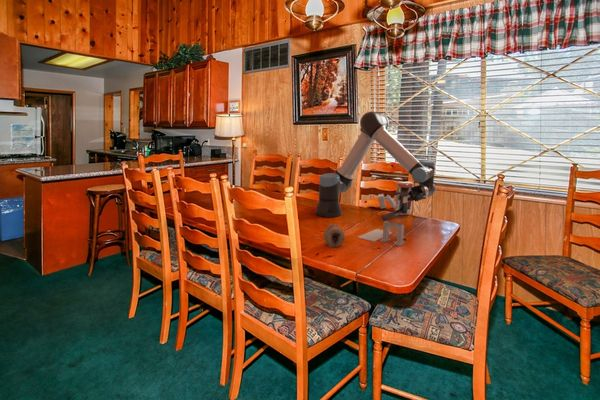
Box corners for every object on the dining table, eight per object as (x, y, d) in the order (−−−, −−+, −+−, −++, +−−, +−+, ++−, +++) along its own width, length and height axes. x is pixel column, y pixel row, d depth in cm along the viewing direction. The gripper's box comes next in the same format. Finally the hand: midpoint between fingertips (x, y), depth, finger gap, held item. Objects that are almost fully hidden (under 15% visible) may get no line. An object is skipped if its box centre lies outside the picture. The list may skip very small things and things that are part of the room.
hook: (376, 219, 173) (378, 188, 170) (399, 210, 191) (401, 182, 188) (390, 222, 169) (393, 190, 166) (412, 212, 186) (415, 184, 183)
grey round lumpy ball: (324, 249, 169) (317, 228, 169) (338, 243, 173) (332, 222, 173) (336, 249, 161) (329, 227, 160) (351, 242, 165) (344, 221, 165)
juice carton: (394, 212, 230) (396, 181, 226) (407, 211, 231) (410, 181, 227) (398, 215, 222) (400, 183, 218) (412, 214, 223) (415, 183, 219)
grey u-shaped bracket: (380, 241, 173) (381, 222, 172) (385, 239, 177) (386, 220, 175) (399, 245, 167) (400, 226, 166) (404, 243, 171) (405, 224, 169)
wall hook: (397, 209, 235) (394, 193, 233) (381, 212, 237) (377, 196, 236) (397, 206, 242) (394, 191, 241) (380, 209, 245) (377, 194, 243)
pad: (357, 237, 178) (357, 237, 178) (376, 229, 192) (376, 229, 192) (374, 241, 173) (374, 241, 173) (392, 233, 186) (392, 232, 186)
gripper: (434, 202, 194) (415, 210, 176) (402, 197, 204) (382, 204, 186) (435, 187, 192) (417, 194, 174) (403, 183, 202) (383, 189, 185)
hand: (399, 199), depth 180 cm, fingers closed on hook, 4 cm apart
